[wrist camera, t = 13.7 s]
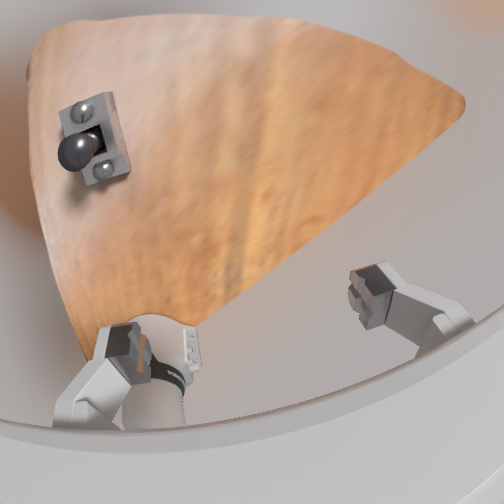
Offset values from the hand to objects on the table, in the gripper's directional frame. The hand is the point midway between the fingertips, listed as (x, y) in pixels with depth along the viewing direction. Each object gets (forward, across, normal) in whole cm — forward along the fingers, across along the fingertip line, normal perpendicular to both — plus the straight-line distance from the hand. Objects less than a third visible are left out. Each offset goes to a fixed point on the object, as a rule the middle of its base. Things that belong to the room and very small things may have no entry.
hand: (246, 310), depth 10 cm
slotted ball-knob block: (+33, -15, +5) cm, 37 cm away
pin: (+33, -15, +5) cm, 37 cm away
